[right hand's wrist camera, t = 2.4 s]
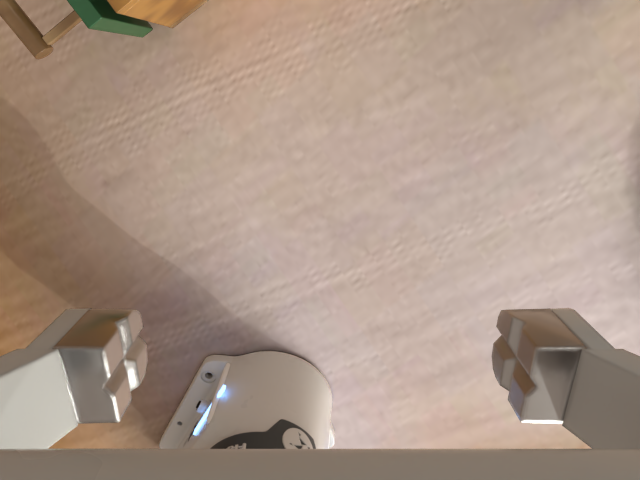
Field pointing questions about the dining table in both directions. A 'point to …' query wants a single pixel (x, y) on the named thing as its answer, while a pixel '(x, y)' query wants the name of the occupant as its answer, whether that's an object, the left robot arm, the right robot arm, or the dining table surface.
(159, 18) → the open tan box
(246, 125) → the dining table surface
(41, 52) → the drawer
